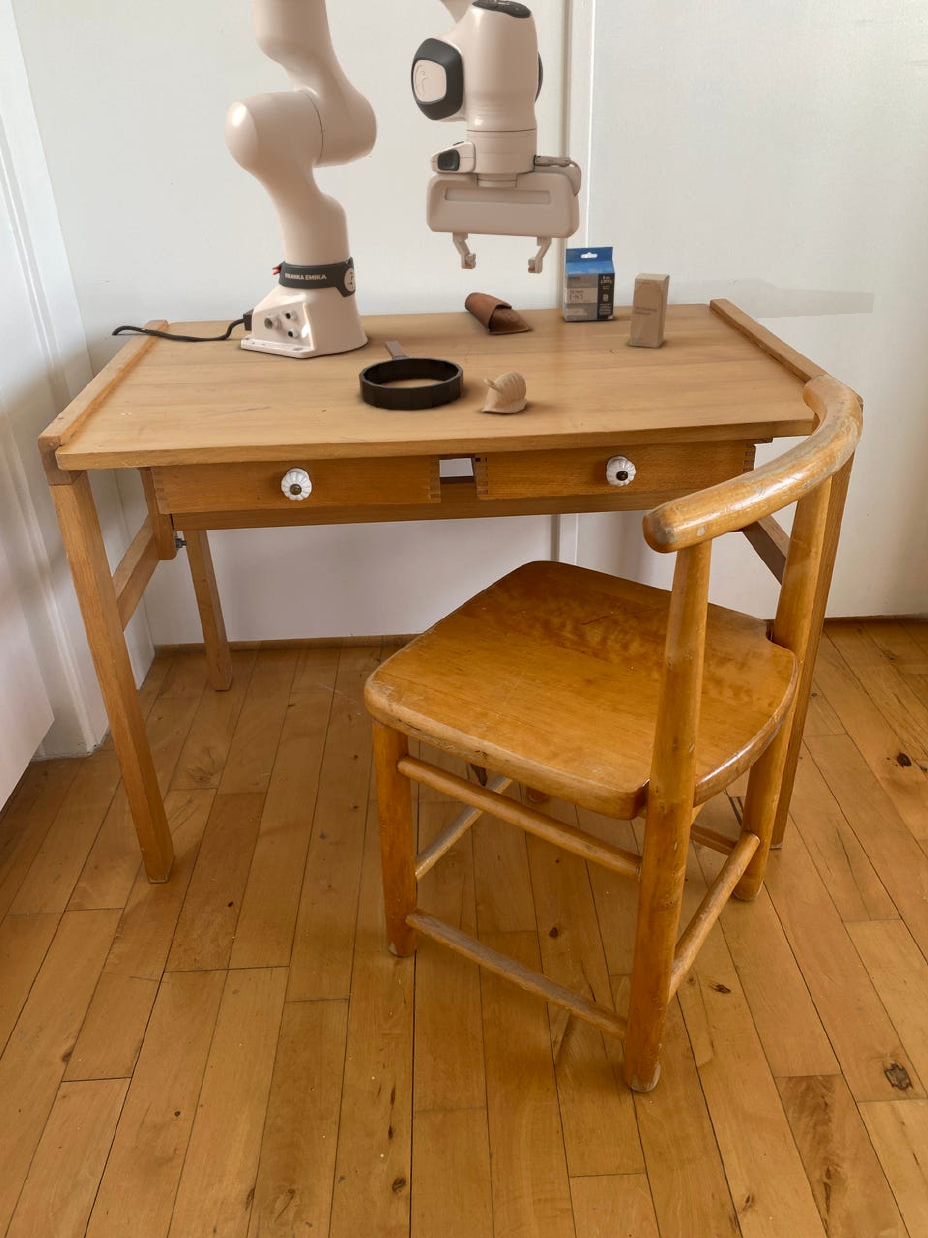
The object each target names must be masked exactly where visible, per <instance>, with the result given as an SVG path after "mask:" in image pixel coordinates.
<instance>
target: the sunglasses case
mask: <svg viewBox="0 0 928 1238" xmlns="http://www.w3.org/2000/svg"><path fill="white" fill-rule="evenodd" d="M464 309H465V310H466V311H467V312H469V313H470V314H472V315H473V316H474V317H475V318H476V319H477V320H478V321H479V322H480V323H481V324H482V325H483V326H484V327H485V329H487V330H488V331H489V332H490V333H491V334H492V335H507V334H509V335H510V334H516V333H522V332H526V331H529V330H530V329H531V328H530V326H529V325H528V323H527V322H526V320H525V319H524V318H523V317H522V316H521V315H520V314H519V313H518V312H517V311H515V310H514V308H513V306H512V305H511V304H510V303H508V302H507V301H504V300H502V299H500V298H497V297H495V296H493V295H490V294H487V293H484V292H478V291H477V292H471V293H469V294H468V295H467V296H466V298H465V301H464Z"/></svg>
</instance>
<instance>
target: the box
mask: <svg viewBox="0 0 928 1238" xmlns="http://www.w3.org/2000/svg"><path fill="white" fill-rule="evenodd" d="M670 278H671V275H670V274H666V273H665V274H662V273H644V272H640V273H639V274H638V275H637V276H636V277H635V278H634V285H633V286H634V287H633V297H632V309H631V322H630V332H629V341H628V342H629V344H628V345H629V346H634V347H644V348H653V349H654V348H655V349H658V348H659V347H660V346H661V345H662V344H663V342H664V336H665V326H666V315H667V306H668V296H669V285H670Z"/></svg>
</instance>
